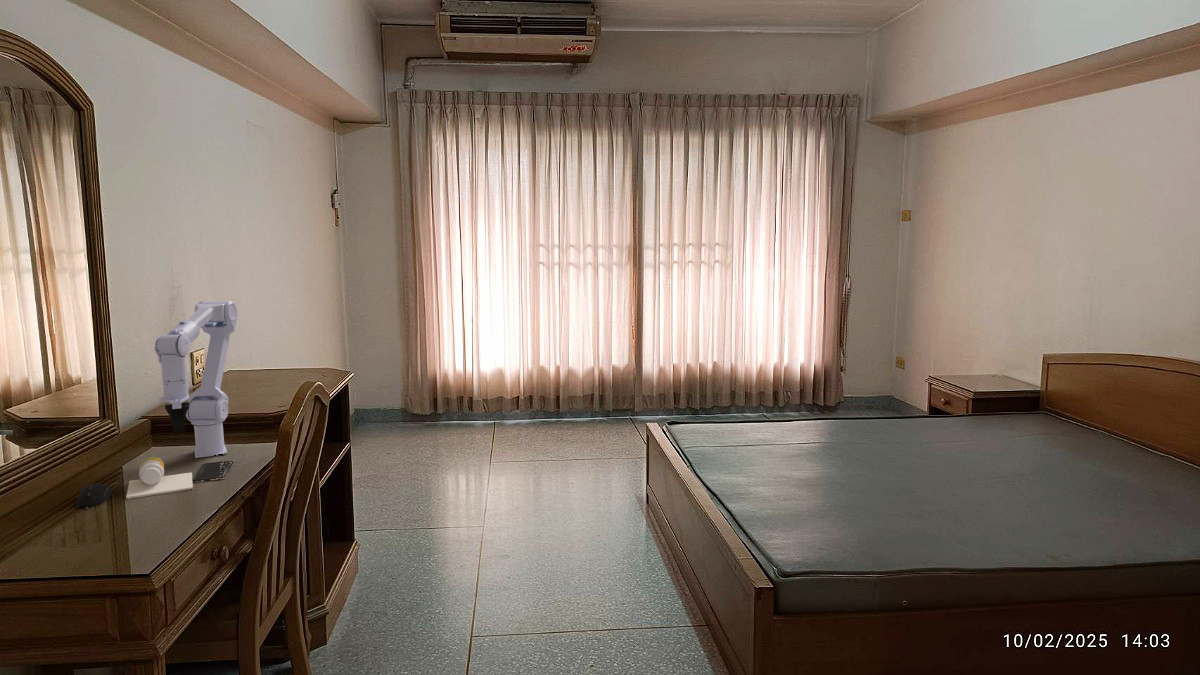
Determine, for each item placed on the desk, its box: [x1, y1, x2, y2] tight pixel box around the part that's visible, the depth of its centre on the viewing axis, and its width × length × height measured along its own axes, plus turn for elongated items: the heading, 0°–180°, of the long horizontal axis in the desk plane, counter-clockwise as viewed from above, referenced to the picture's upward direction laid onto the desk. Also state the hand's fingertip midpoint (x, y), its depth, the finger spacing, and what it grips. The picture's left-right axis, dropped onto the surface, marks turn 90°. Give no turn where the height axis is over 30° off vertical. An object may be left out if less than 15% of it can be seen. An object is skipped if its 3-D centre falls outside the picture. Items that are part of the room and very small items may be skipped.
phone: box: [192, 460, 235, 483], centre depth 208 cm, size 8×1×15 cm
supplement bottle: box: [138, 456, 165, 485], centre depth 199 cm, size 5×5×10 cm
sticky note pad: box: [125, 471, 194, 500], centre depth 197 cm, size 14×14×1 cm
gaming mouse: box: [75, 483, 113, 510], centre depth 186 cm, size 6×15×4 cm, turn 20°
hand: (179, 431), depth 210 cm, fingers closed
